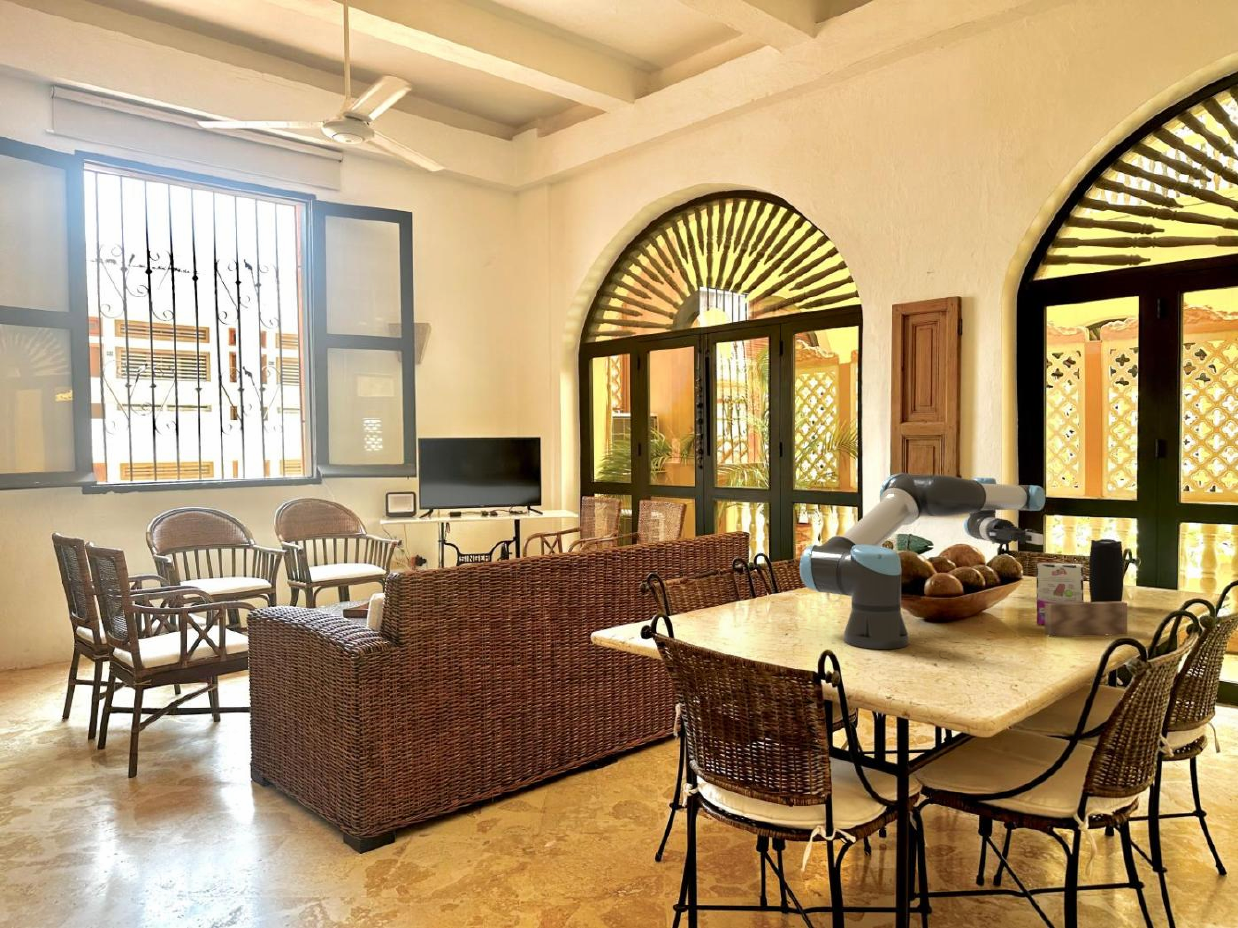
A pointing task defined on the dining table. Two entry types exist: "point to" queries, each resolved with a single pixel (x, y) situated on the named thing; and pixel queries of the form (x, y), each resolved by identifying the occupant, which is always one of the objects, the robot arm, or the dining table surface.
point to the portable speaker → (1106, 571)
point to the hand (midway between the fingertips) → (1040, 539)
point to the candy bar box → (1058, 585)
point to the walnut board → (1085, 618)
